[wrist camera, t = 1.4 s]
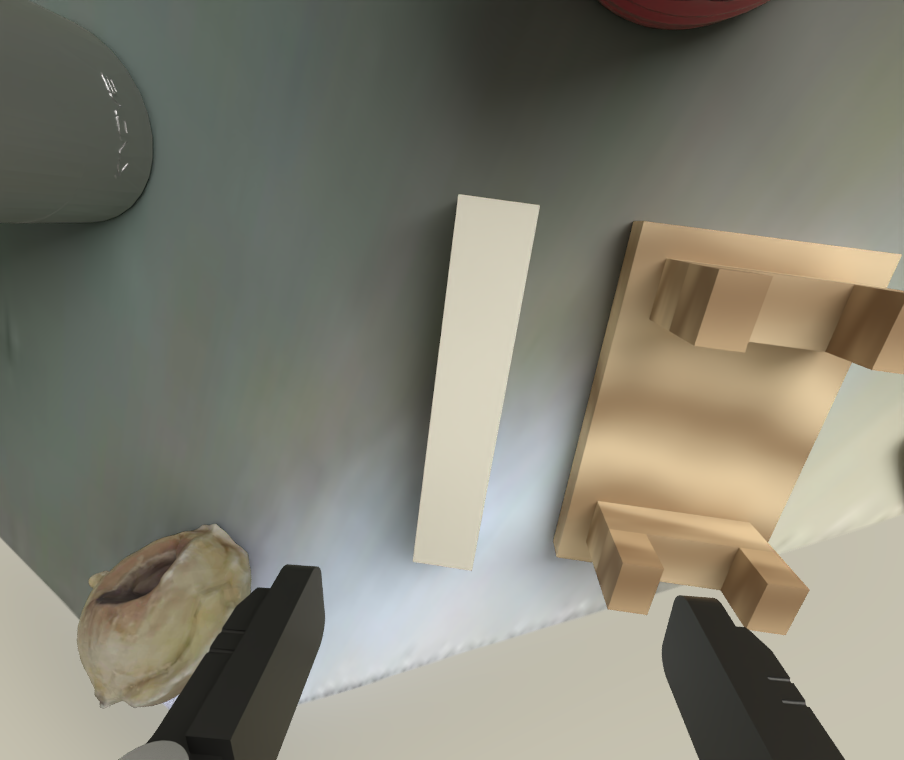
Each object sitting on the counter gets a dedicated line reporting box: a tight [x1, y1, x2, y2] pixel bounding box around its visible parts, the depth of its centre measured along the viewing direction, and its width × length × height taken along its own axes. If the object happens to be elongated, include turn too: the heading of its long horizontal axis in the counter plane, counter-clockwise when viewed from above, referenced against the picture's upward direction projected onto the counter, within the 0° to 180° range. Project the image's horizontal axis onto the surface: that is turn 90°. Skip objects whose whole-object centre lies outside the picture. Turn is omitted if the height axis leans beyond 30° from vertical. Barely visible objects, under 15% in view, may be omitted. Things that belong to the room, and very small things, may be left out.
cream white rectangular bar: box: [413, 194, 540, 571], centre depth 24 cm, size 20×4×4 cm, turn 173°
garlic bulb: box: [77, 524, 251, 708], centre depth 27 cm, size 9×8×10 cm
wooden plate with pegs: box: [553, 221, 904, 635], centre depth 22 cm, size 20×12×6 cm, turn 173°
